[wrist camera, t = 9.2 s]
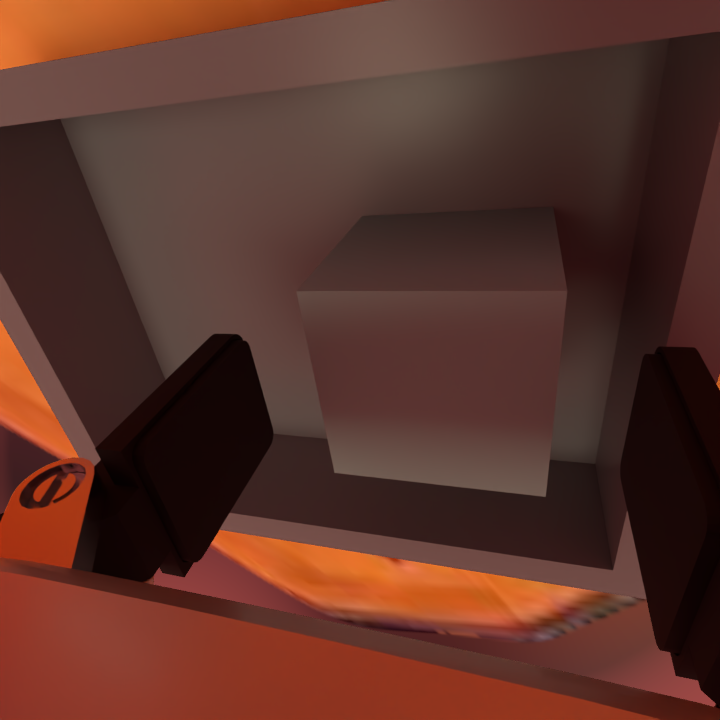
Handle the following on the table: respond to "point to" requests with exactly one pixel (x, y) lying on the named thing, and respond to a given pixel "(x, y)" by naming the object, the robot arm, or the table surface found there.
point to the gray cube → (440, 347)
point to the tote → (343, 210)
